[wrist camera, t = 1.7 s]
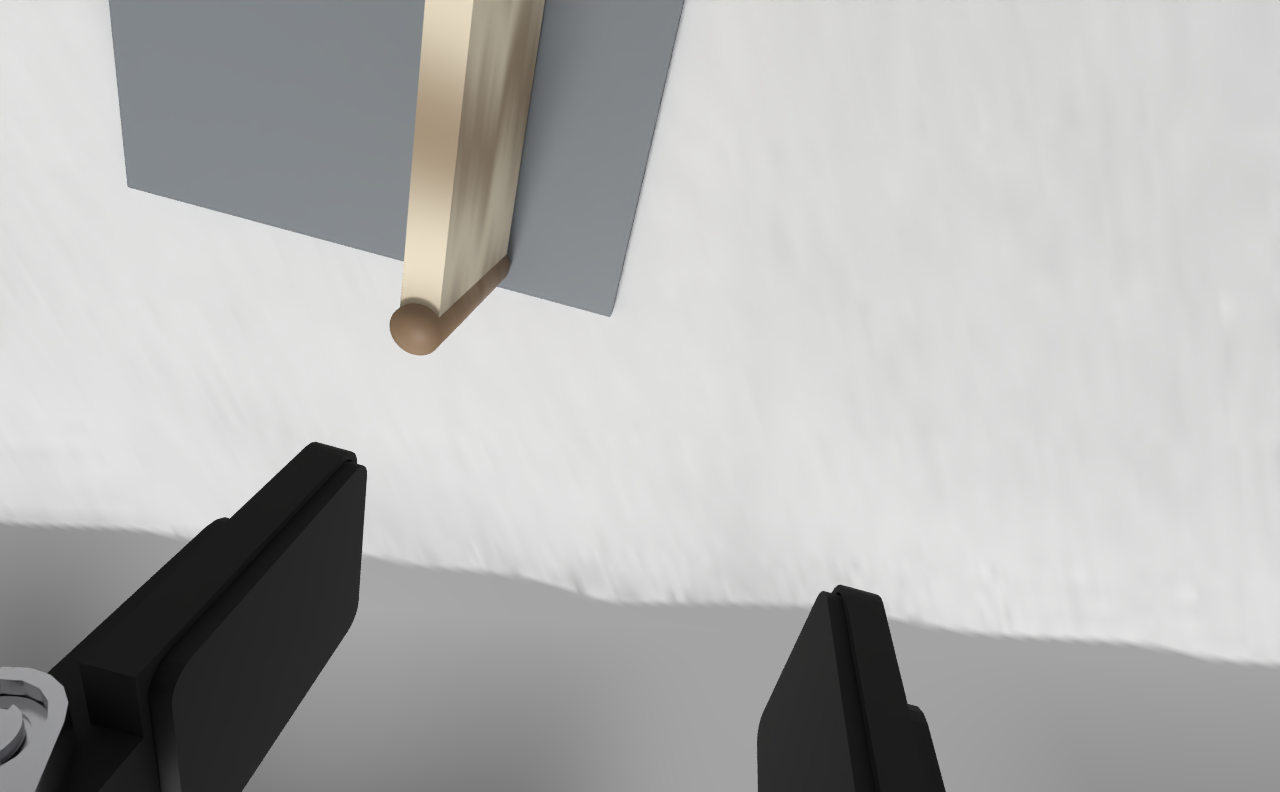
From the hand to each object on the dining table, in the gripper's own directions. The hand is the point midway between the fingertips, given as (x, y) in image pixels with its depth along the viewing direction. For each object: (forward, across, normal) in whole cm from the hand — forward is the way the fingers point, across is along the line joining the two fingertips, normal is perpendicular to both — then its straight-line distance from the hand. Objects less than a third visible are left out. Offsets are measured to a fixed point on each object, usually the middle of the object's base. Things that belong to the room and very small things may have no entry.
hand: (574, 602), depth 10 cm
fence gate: (+19, +7, -3) cm, 20 cm away
